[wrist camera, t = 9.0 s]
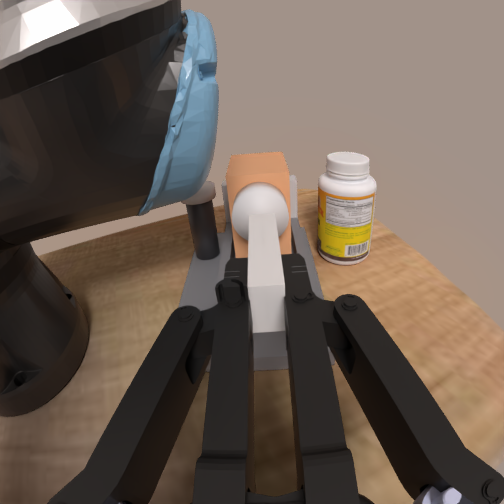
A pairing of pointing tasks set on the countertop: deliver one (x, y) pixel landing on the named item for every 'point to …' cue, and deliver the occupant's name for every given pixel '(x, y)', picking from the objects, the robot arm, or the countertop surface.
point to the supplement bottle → (345, 208)
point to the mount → (212, 271)
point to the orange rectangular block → (258, 196)
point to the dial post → (203, 222)
